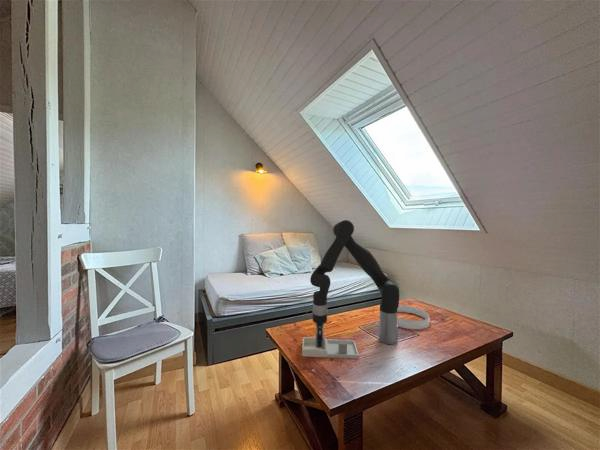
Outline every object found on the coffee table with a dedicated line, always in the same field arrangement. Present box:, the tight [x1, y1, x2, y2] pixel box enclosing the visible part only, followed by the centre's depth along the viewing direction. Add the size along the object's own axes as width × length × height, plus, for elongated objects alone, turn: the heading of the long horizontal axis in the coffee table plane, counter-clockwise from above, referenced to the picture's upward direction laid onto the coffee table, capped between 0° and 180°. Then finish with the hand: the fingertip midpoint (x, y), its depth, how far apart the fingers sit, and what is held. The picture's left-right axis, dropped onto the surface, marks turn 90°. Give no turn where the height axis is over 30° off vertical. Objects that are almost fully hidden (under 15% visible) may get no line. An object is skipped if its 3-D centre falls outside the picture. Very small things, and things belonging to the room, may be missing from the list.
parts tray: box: [326, 338, 360, 359], centre depth 130 cm, size 15×14×2 cm
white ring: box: [397, 304, 431, 330], centre depth 168 cm, size 27×27×6 cm
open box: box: [301, 336, 328, 358], centre depth 130 cm, size 12×12×4 cm
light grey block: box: [337, 339, 347, 354], centre depth 126 cm, size 4×4×6 cm
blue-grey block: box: [315, 334, 325, 348], centre depth 130 cm, size 4×4×6 cm
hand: (319, 344), depth 130 cm, fingers closed on blue-grey block, 3 cm apart
